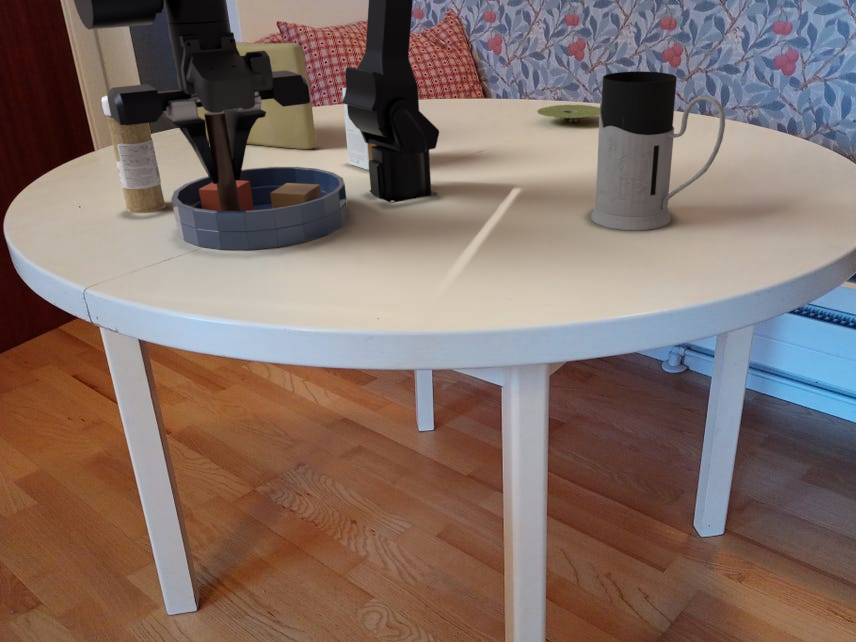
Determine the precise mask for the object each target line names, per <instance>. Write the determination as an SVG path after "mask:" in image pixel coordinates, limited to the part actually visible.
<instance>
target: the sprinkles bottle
mask: <svg viewBox="0 0 856 642" xmlns="http://www.w3.org/2000/svg"><path fill="white" fill-rule="evenodd" d="M101 106H102V111H103V114H104V115H105V118H106V120H107V125H108V130H109V133H110V139H111V142H112V147H113V153H114V157H115V158H114V159H115V163H116V168H117V172H118V176H119V177H118V178H119V180H120V185H121V187H122V192H123V196H124V200H125V205H126V212H127V213H131V214H149V213H153V212H157V211H160V210H163V209H164V208H166V207H167V204H166V202H165V198H164V193H163V190H162V179H161V174H160V171H159V165H158V160H157V155H156V150H155V145H154V141H153V137H152V133H151V129H150V125H149V124H150V123H143V124H135V125H120V124H119V123H118V122H117V121H116V120H114V119H113V118H112V117H111V113H110V108H109V104H108V98H107V95H104V96H102V97H101Z"/></svg>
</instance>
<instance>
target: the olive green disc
mask: <svg viewBox="0 0 856 642" xmlns="http://www.w3.org/2000/svg"><path fill="white" fill-rule="evenodd" d="M536 112H537V114H539V115H541V116H543V117H545V116H546V117H551V118H552V117H553V118H564V121H565V122H569V123H571V124H572V123H573V122H574V123H577V121H578V118H590V117H597V116H600V106H599V107H598V106H592V105H586V104H559V105H558V104H557V105H550V106H545V107H541V108H538V109H537V111H536Z"/></svg>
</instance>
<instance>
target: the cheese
mask: <svg viewBox="0 0 856 642" xmlns="http://www.w3.org/2000/svg"><path fill="white" fill-rule="evenodd" d="M236 47H237V50H238V52H239V54H240V56H244V55H246V53H247V52H254V51H266V53H267V54H268V55H269V57H270V63H271V68H272V72H274V71H284V70H287V71H290V72H293V73H296V74H299V75H301V76H302V77H303V78H304V79H305V80H306V82H307V84H308V88H309V96H310V103H308V104H301V105H293V106H284V107H283V106H281V105H280V104H278V103H277V102H276V101H275V100H274V99H265V100H261V102H262V104H261V110H263V111H266V116H265V117H263V118H258V119H257V120H256V122H255V124H254V125H253V127H252V129H251V131H250V134H249V137H248V140H247V144H246V145H254V146H255V145H257V146H264V147H265V146H267V147H275V148H284V149H285V148H286V149H296V150H311V149H314V148H316V147H317V138H316V137H317V136H316V128H315V121H314V113H313V104H312V94H311V88H310V87H311V86H310V81H309V75H308V69H307V65H306V60H305V54H304V50H303V49H304V48H303V47H302V45H300V44H299V43H295V42H283V43H282V42H281V43H249V42H248V43H246V42H240V41H236ZM197 110H198V111H197V113H198V116H199V117H201V118H202V119H204V120H205V116H204V114H205V113H207V112H208V111H206V110H205V109H204V108H203V107H197ZM223 112H224V111H223ZM205 125H206V122H205ZM206 135H207V139H208V133H207V128H206ZM208 142H209V139H208Z"/></svg>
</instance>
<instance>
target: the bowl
mask: <svg viewBox="0 0 856 642" xmlns="http://www.w3.org/2000/svg"><path fill="white" fill-rule="evenodd" d="M239 181H250V188H251V194H252V200H253V207H254V210H253V211H214V210H205V209H202V204H201V198H200V193H199V189H200V188H202V187H204V186H206V185H208V184H210V183H212V182H211V180H210V178H209V176H208V175H207V176H203V177H201V178H197V179H195V180H193V181H190V182H187V183H185V184H183V185H182V186H180V187H179V188H177V189H175V190H174V191H173V194H172V195H171V198H170V199H171V200H170V201H171V204H172V209H173V214H174V218H175V224H176V228H177V234H178V236H180V237H181V239H182V240H183V241H184V242H186V243H190V244H191V245H194V246H197V247H199V248H206V249H213V250H220V251H221V250H222V251H254V250H265V249H275V248H282V247H287V246H292V245H293V246H294V245H297V244H302V243H307V242H310V241H314V240H316V239H319V238H322V237H326V236H328V235H330V234H332V233H333V232H335V231H337V230H339V229H341V228H342V227H343V226H344V224H345V223H346V222H347V221H348V219H349V213H348V202H347V192H346V191H347V190H346V183H345V181H344V177H342V176H340V175H339V174H337V173H335V172H333V171H328V170H324V169H319V168H314V167H304V166H303V167H302V166H267V167H253V168H245V169H242V170H241V176H240V180H239ZM286 183H296V184H318V185H320V189H321V198H319V199H315V200H312V201H308V202H305V203H301V204H297V205H292V206H286V207H280V208H275V209H272V202H271V195H270V193H271V192H273V191H274V190H276V189H278V188H280V187H281V186H283V185H285V184H286Z"/></svg>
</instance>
